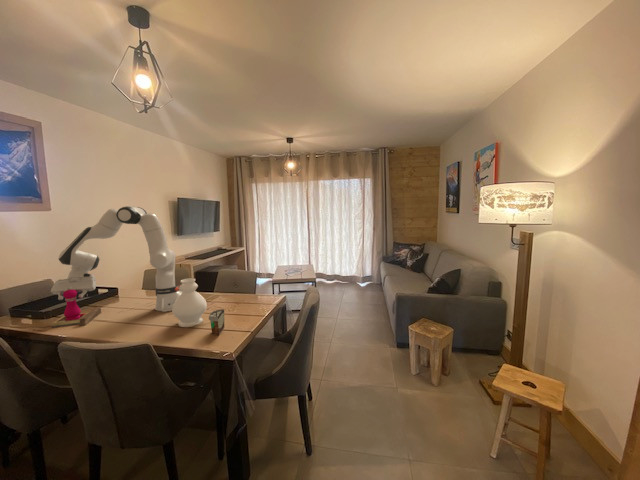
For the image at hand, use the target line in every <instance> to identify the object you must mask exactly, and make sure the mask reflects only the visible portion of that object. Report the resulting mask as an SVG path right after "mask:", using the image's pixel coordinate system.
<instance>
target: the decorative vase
mask: <svg viewBox="0 0 640 480" xmlns="http://www.w3.org/2000/svg"><path fill="white" fill-rule="evenodd" d="M195 281H196V278H193V277H192V278H184V279H181V280H180V283H181V284H180V285H179V291H181V292H183V293H182V294H181V295H180V296H179V297H178V298H177V299H176V301H175V302H174V304H173V306H172V311H171V312H172V315H174V317H175V318H176V319H178V320H179V322H178V326H179V327H181V328H189V327H190V328H191V327H193V326H194V327H195V326H197V325H200V324H202V323H203V317H202V316H203V315H204V313H205V311H206V310H207V307H208V303H207V301H206V298H205V297H203V296H202V295H201V294H200V293H199V292H198V291H196V290H197V289H198V288H199V285H198V284H197V283H196V282H195Z"/></svg>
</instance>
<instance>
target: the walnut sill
mask: <svg viewBox="0 0 640 480" xmlns="http://www.w3.org/2000/svg"><path fill="white" fill-rule="evenodd" d="M88 312H89V313H87V312H86V313H87V314H86V315H85V316H83V317H82V318H80V324H79V325H80V326H81V327H82V326H83V327H84V326H86V325H89V323H91V321H93V320H94V319H95V318H97V317H98V316H100V314H102V308H101V306H96V307H94V308H93V309H92V310H90V311H88Z"/></svg>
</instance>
